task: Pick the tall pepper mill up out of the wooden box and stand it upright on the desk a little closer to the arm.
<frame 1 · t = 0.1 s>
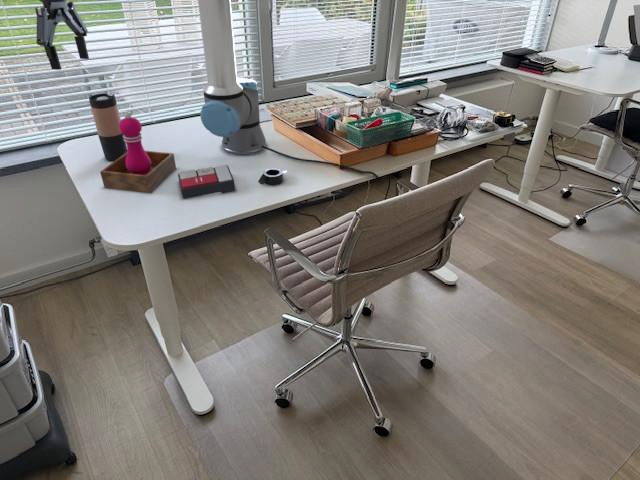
hand: (71, 63, 142), 28 cm above the table, tool pointing down, fingers open, 13 cm apart
travel mug: (117, 157, 152), on the table
wooden box: (141, 178, 140), on the table
duct tape: (273, 181, 140), on the table
black red grey box: (207, 187, 136), on the table
pepper mill: (141, 177, 140), resting on wooden box
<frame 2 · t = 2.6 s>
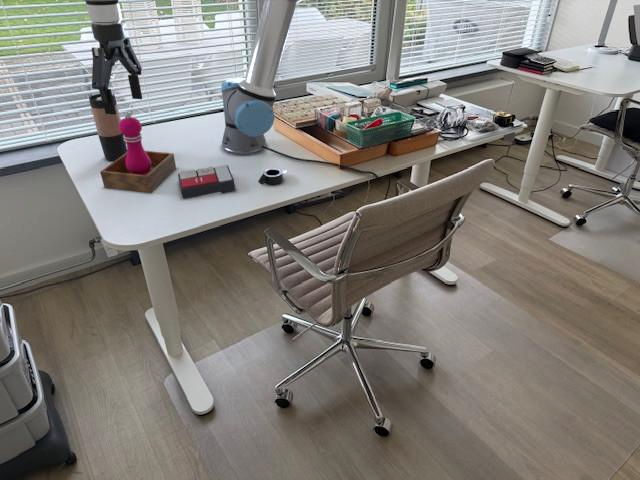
hand: (124, 106, 127), 22 cm above the table, tool pointing down, fingers open, 13 cm apart
nothing on the table moved.
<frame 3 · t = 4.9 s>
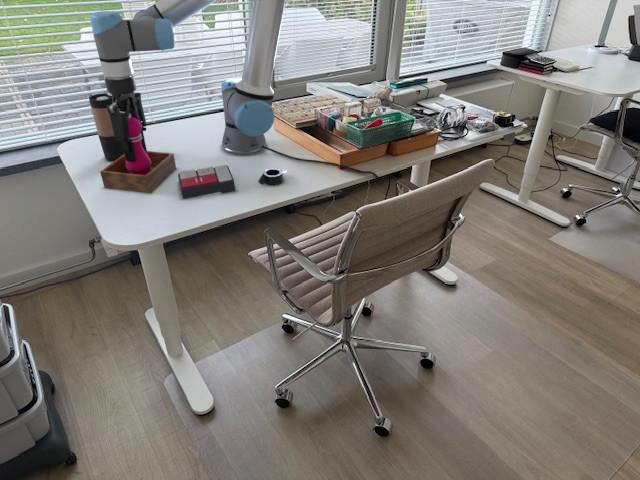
hand: (137, 156, 136), 7 cm above the table, tool pointing down, fingers closed on pepper mill, 6 cm apart
pepper mill: (141, 177, 140), resting on wooden box, touching gripper
everything else where it was.
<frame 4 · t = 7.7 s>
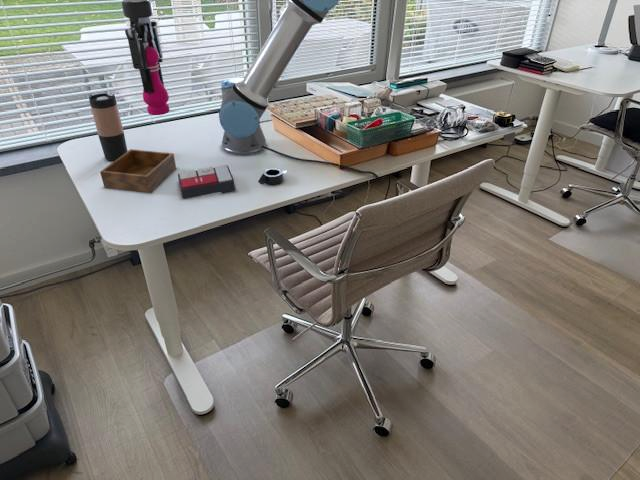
hand: (154, 88, 134), 24 cm above the table, tool pointing down, fingers closed on pepper mill, 6 cm apart
pepper mill: (159, 112, 138), point 17 cm above the table, touching gripper
everything else where it was.
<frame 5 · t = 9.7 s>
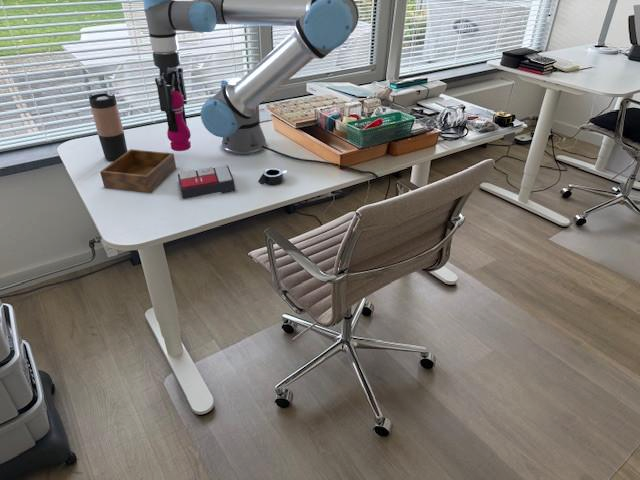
hand: (178, 127, 147), 10 cm above the table, tool pointing down, fingers closed on pepper mill, 6 cm apart
pepper mill: (181, 148, 151), point 3 cm above the table, touching gripper
everything else where it was.
when the fingers open (7 cm above the table, at t = 11.0 s): pepper mill stays where it is, on the table.
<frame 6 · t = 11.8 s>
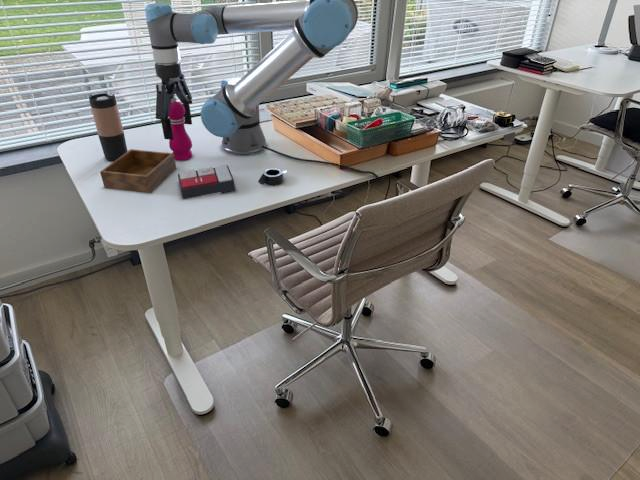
hand: (178, 131, 148), 9 cm above the table, tool pointing down, fingers open, 13 cm apart
pepper mill: (182, 157, 153), on the table
everything else where it was.
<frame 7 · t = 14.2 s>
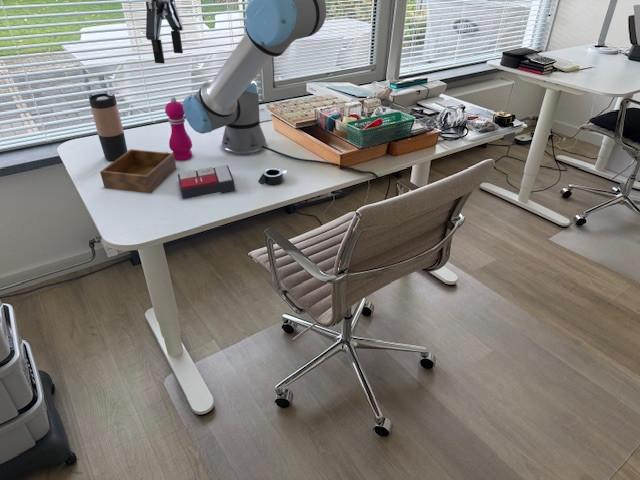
hand: (169, 57, 143), 30 cm above the table, tool pointing down, fingers open, 13 cm apart
nothing on the table moved.
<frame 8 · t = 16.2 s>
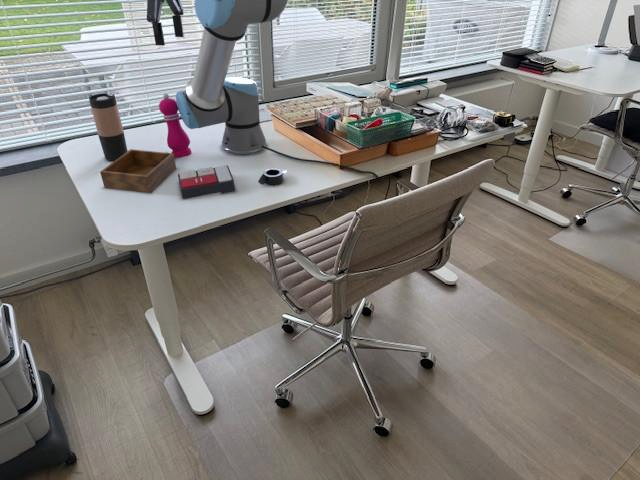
hand: (170, 41, 149), 33 cm above the table, tool pointing down, fingers open, 13 cm apart
pepper mill: (182, 155, 153), on the table, touching arm
everything else where it was.
at the end: pepper mill inside the target area (0.1 cm from its centre), point 0.5 cm above the table; pepper mill tilted 12°; pepper mill touching arm, table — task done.
